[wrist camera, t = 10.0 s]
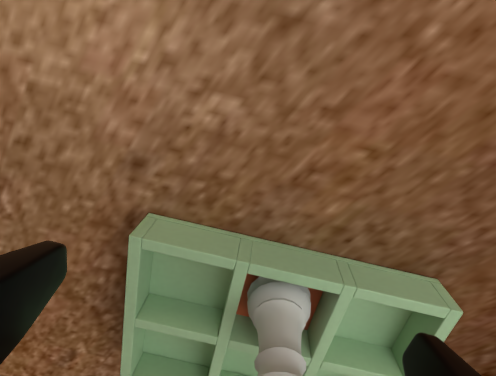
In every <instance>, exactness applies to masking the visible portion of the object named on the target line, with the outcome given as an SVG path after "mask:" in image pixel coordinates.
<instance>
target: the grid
mask: <svg viewBox="0 0 496 376" xmlns="http://www.w3.org/2000/svg"><path fill="white" fill-rule="evenodd" d="M259 277H265V278H269V279H273V280H278V281H282V282H287V283H291V284H295V285H300V286H304V287H307V288H308V290H309V292H310V302H311V313H310V317H309V319H308V321H307V323H306V326H305V328H304V329H303V331H302V337H301V354H302V356H303V358H304V360H305V362H306V371H305V373H304V374H303V376H405V374H404V369H403V364H402V357H403V353H404V351H405V350H406V348H407V347H408V345H409V344H410V342H411V341H412V339H413V338H414V336H415V335H416V334H417V333H420V332H421V333H426V334H430V335H434V336H436V337H438V338H439V339H440V340H441V341H443V342H444V340H445V339H446V338H447V336H448V335H449V333H450V332H451V330H452V329H453V327H454V326H455V324H456V323H457V321H458V320H459V318H460V317H461V316H462V314H463V311H462V310H461V309H460V307H459V306H458V305H457V303H456V302H455V301H454V300H453V298H452V297H451V296H450V295H449V293H448V292H447V291H446V290H445V288H444V287H443V286H442V285H441V283H440V282H439V281H438V280H437V279H433V278H429V277H425V276H420V275H416V274H412V273H407V272H403V271H399V270H394V269H390V268H386V267H381V266H377V265H373V264H368V263H364V262H360V261H355V260H351V259H347V258H342V257H338V256H334V255H329V254H325V253H321V252H316V251H312V250H308V249H303V248H299V247H294V246H290V245H286V244H281V243H277V242H273V241H268V240H264V239H260V238H255V237H251V236H247V235H242V234H238V233H234V232H229V231H225V230H221V229H216V228H212V227H208V226H203V225H199V224H195V223H190V222H186V221H182V220H177V219H173V218H169V217H164V216H160V215H156V214H151V213H148V214H147V215H146V217H145V218H144V219H143V220H142V221H141V222H140V224H139V225H138V226H137V227H136V228H135V229H134V230H133V232H132V233H131V234H130V235H129V243H128V259H127V275H126V291H125V307H124V323H123V339H122V355H121V372H120V376H257V375H258V372H257V371H256V369H255V363H254V361H255V359H256V357H257V355H258V354H259V342H258V333H257V330H256V328H255V326H254V325H253V322H252V320H251V318H250V317H249V314H248V306H247V301H248V296H247V292H248V290H249V288H250V285H251V283H253V282H254V281H255V280H256V279H257V278H259Z"/></svg>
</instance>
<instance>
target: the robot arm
mask: <svg viewBox="0 0 496 376" xmlns="http://www.w3.org/2000/svg"><path fill="white" fill-rule="evenodd" d="M66 272H67V250H66V246H65V245H64V244H61V243H57V242H53V241H44V242H41V243H38V244H34V245H31V246H28V247H25V248H22V249H18V250H15V251H12V252H9V253H6V254H3V255H0V364H1V363H2V362H3V361H4V360H5V358H6V357H7V356H8V355H9V354H10V352H11V351H12V350H13V349H14V348H15V346H16V345H17V344H18V343H19V342H20V340H21V339H22V338H23V337H24V335H25V334H26V332H27V331H28V330H29V328H30V327H31V326H32V324H33V323H34V321H35V320H36V318H37V317H38V316H39V314H40V313H41V311H42V310H43V309H44V307H45V306H46V304H47V303H48V301H49V300H50V299H51V297H52V296H53V294H54V293H55V291H56V290H57V289H58V287H59V286H60V284H61V283H62V281H63V280H64V278H65V276H66ZM402 364H403V369H404V374H405V376H481V375H480V374H479V373H478V372H476V371H475V370H474V369H473V368H472V367H471V366H470V365H469V364H467V363H466V362H465V361H464V360H463V359H462V358H461V357H459V356H458V355H457V354H456V353H455V352H454V351H453V350H452V349H450V348H449V347H448V346H447V345H446V344H445V343H444V342H443V341H441V340H440V339H439V338H438V337H436V336H434V335H430V334H426V333H421V332H420V333H417V334H416V335H415V336H414V338H413V339H412V341H411V342H410V344H409V345H408V347H407V348H406V350H405V351H404V353H403V357H402Z"/></svg>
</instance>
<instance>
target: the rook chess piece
mask: <svg viewBox="0 0 496 376" xmlns="http://www.w3.org/2000/svg"><path fill="white" fill-rule="evenodd" d="M247 296H248V301H247V306H248V314H249V317H250V318H251V320H252V322H253V325H254V326H255V328H256V330H257V333H258V342H259V354H258V355H257V357H256V359H255V361H254V363H255V369H256V371H257V372H258V375H257V376H303V374H304V373H305V371H306V362H305V360H304V358H303V356H302V354H301V337H302V331H303V329H304V328H305V326H306V323H307V321H308V319H309V317H310V313H311V302H310V292H309V290H308V288H307V287H304V286H300V285H295V284H291V283H287V282H282V281H278V280H273V279H269V278H265V277H259V278H257V279H256V280H255V281H254V282H253V283H251V285H250V288H249V290H248V292H247Z"/></svg>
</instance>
